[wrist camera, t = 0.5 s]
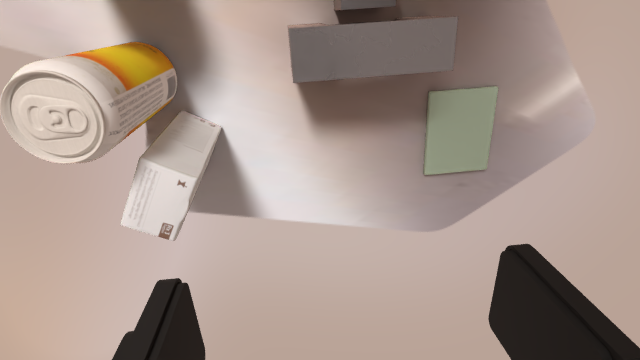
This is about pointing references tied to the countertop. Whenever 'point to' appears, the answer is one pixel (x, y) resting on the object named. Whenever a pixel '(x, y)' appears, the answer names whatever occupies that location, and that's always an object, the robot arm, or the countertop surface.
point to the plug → (362, 4)
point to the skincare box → (170, 176)
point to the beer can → (86, 100)
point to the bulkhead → (372, 48)
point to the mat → (459, 129)
